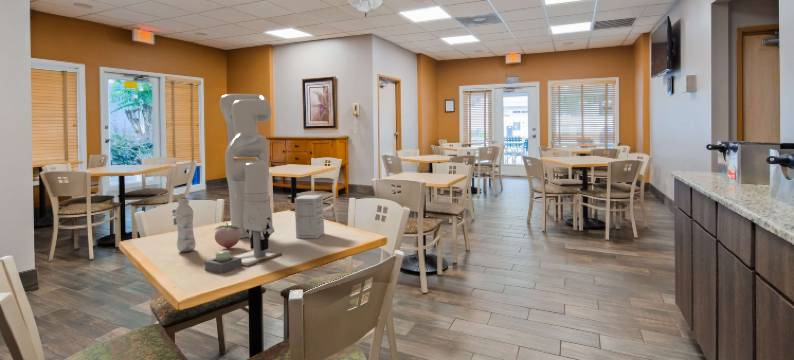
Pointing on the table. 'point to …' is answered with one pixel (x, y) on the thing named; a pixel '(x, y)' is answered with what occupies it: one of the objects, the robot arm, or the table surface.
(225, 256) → the button
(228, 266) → the button housing
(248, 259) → the clipboard
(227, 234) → the decorative fruit
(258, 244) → the marker
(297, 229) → the supplement box
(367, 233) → the table surface
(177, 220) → the plastic bottle
